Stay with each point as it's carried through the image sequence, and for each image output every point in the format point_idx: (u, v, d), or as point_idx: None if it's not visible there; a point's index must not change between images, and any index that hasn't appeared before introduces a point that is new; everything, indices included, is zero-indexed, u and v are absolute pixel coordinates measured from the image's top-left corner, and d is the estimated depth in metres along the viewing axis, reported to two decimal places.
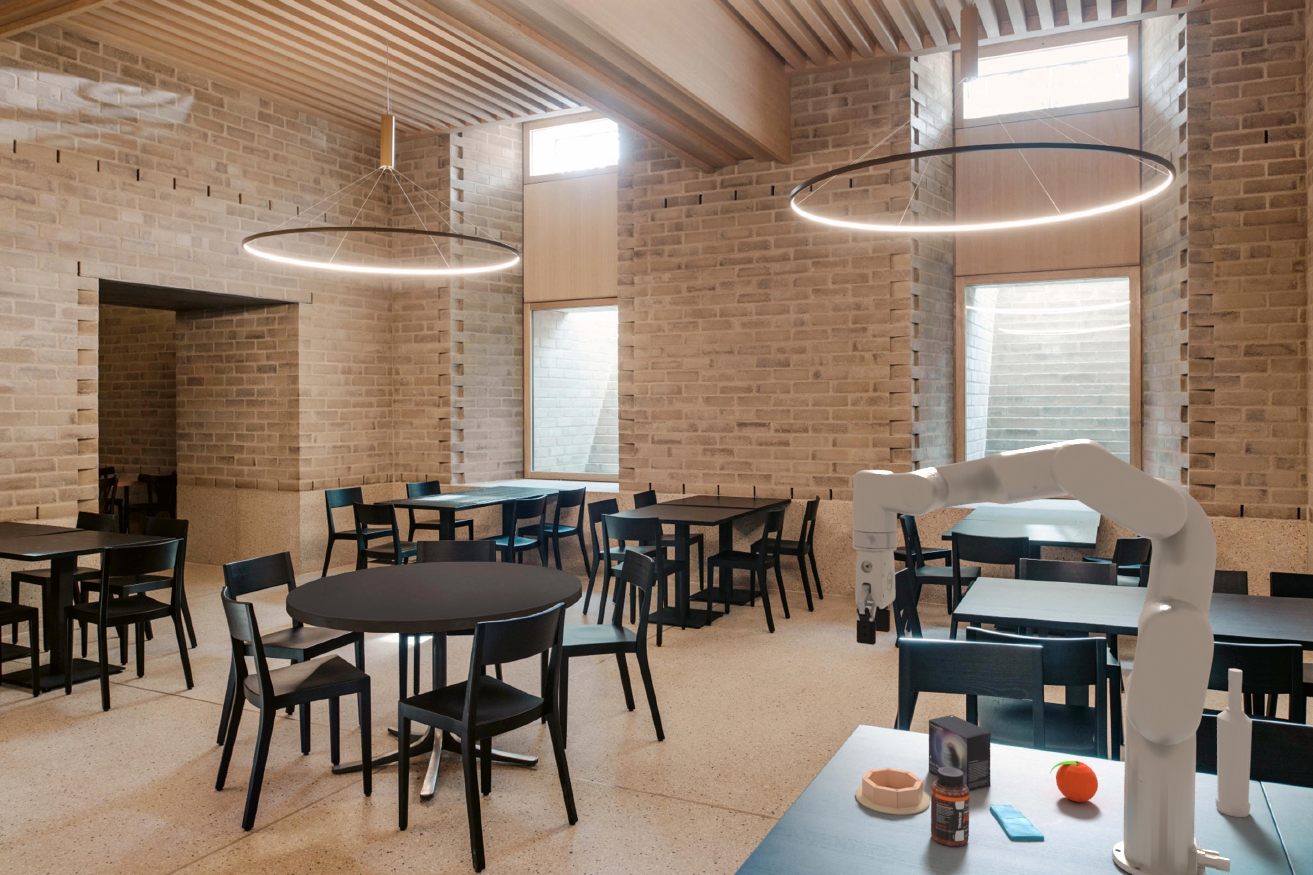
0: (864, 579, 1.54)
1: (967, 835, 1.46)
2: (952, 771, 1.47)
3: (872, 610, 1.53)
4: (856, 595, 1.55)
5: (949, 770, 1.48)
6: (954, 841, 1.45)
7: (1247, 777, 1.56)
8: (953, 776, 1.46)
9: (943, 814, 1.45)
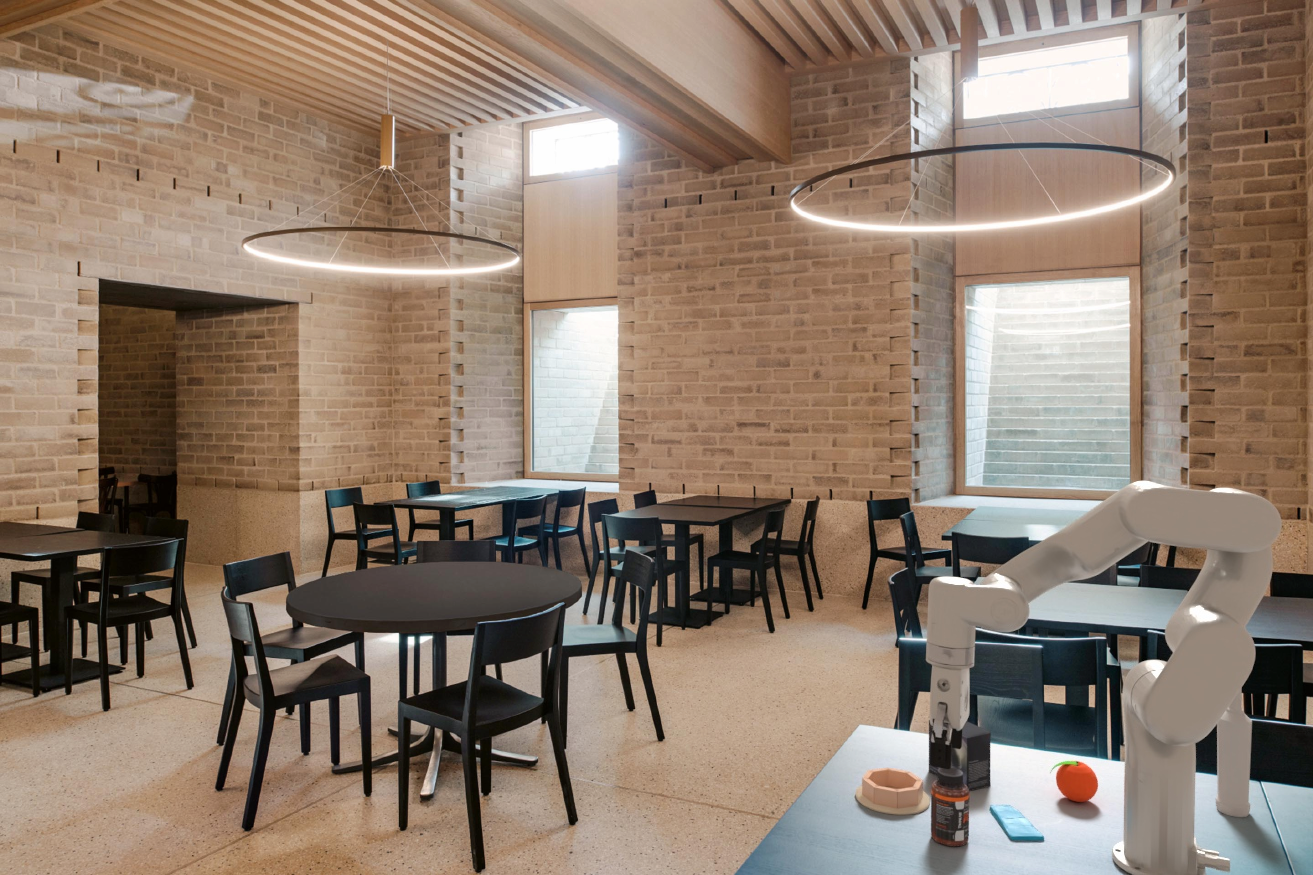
0: (940, 698, 1.43)
1: (967, 835, 1.46)
2: (952, 771, 1.47)
3: (948, 732, 1.42)
4: (931, 714, 1.44)
5: (949, 770, 1.48)
6: (954, 841, 1.45)
7: (1247, 777, 1.56)
8: (953, 776, 1.46)
9: (943, 814, 1.45)
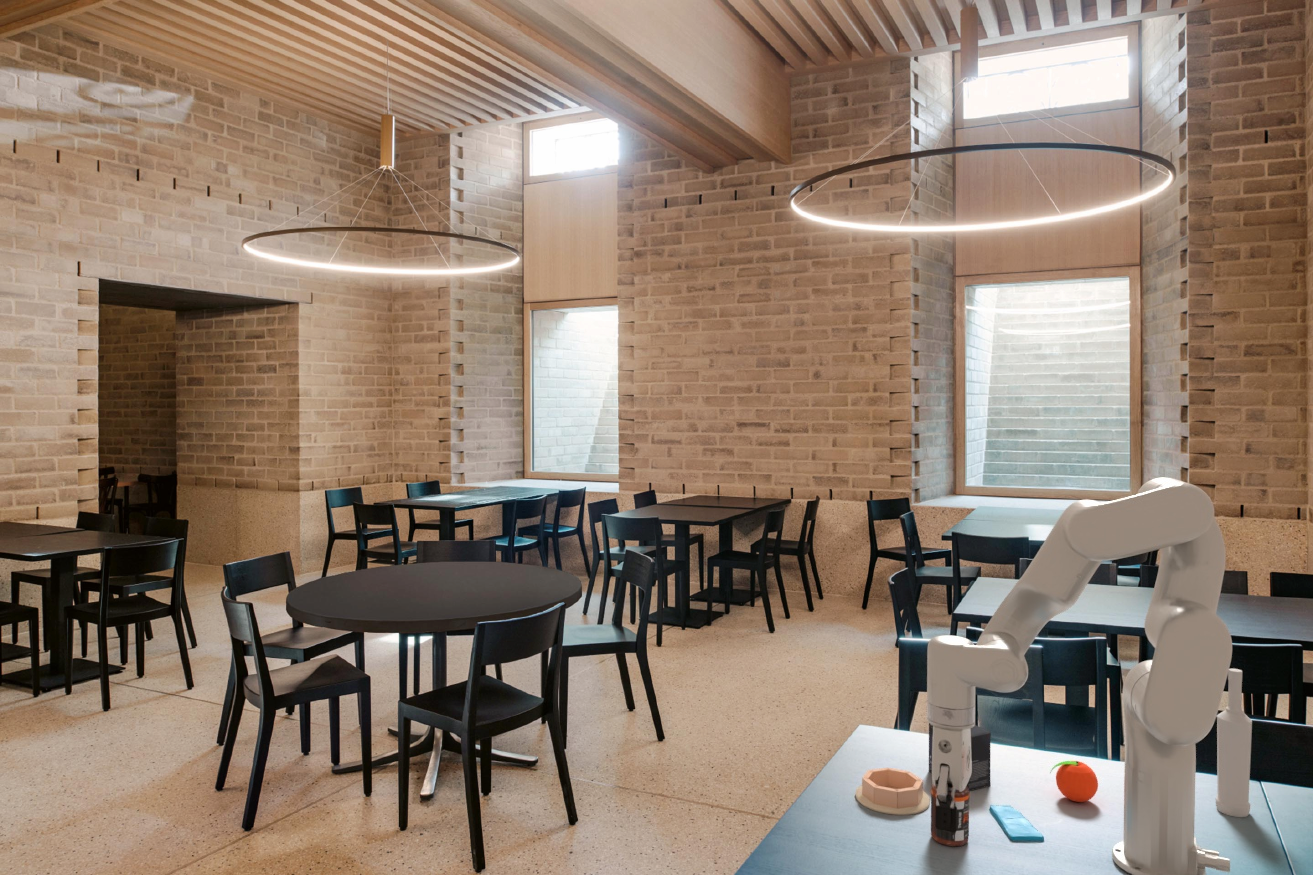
0: (942, 763, 1.43)
1: (967, 835, 1.46)
2: None
3: (952, 797, 1.43)
4: (933, 775, 1.44)
5: None
6: (954, 841, 1.45)
7: (1247, 777, 1.56)
8: None
9: None
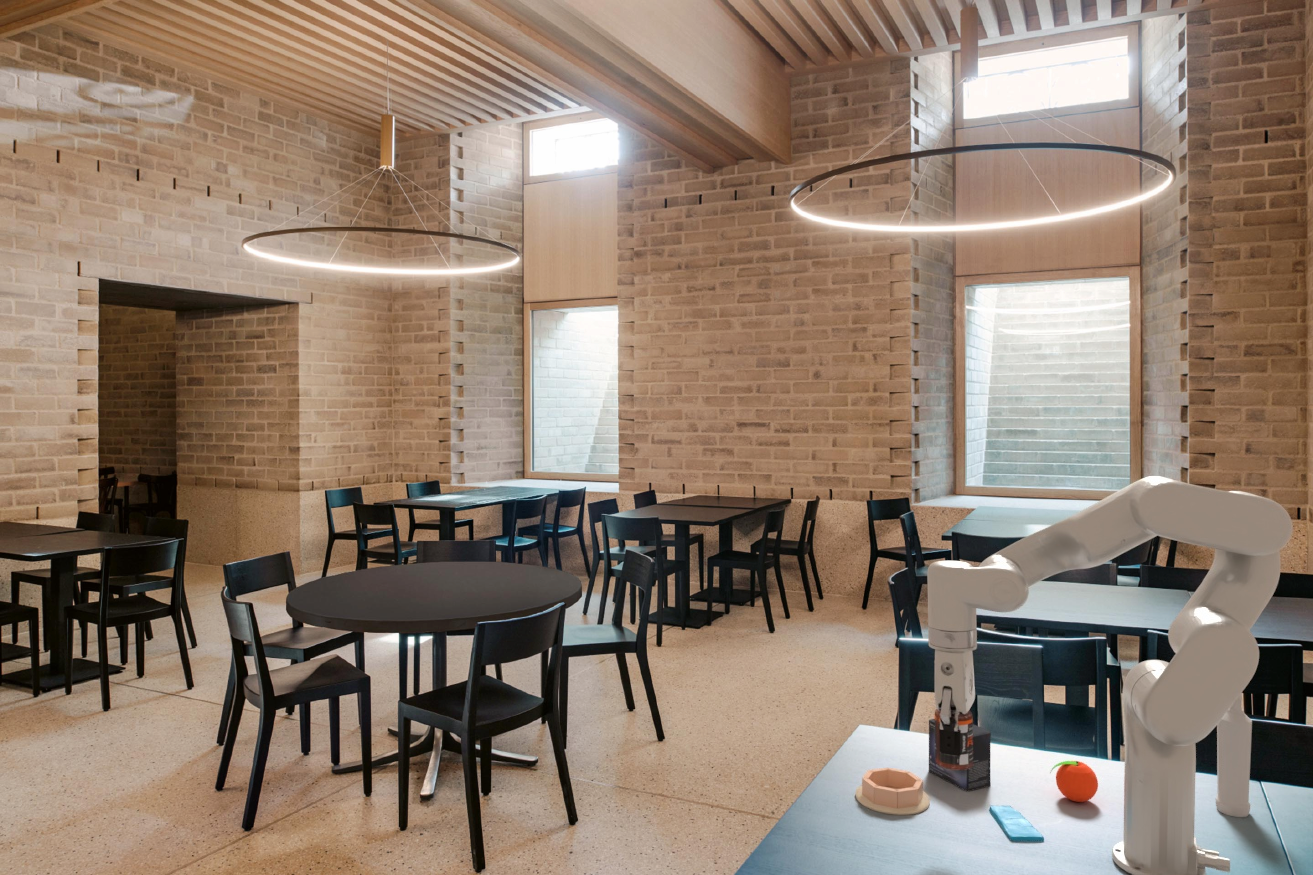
0: (944, 686, 1.43)
1: (971, 759, 1.45)
2: None
3: (956, 719, 1.43)
4: (936, 699, 1.44)
5: None
6: (959, 765, 1.44)
7: (1247, 777, 1.56)
8: None
9: None
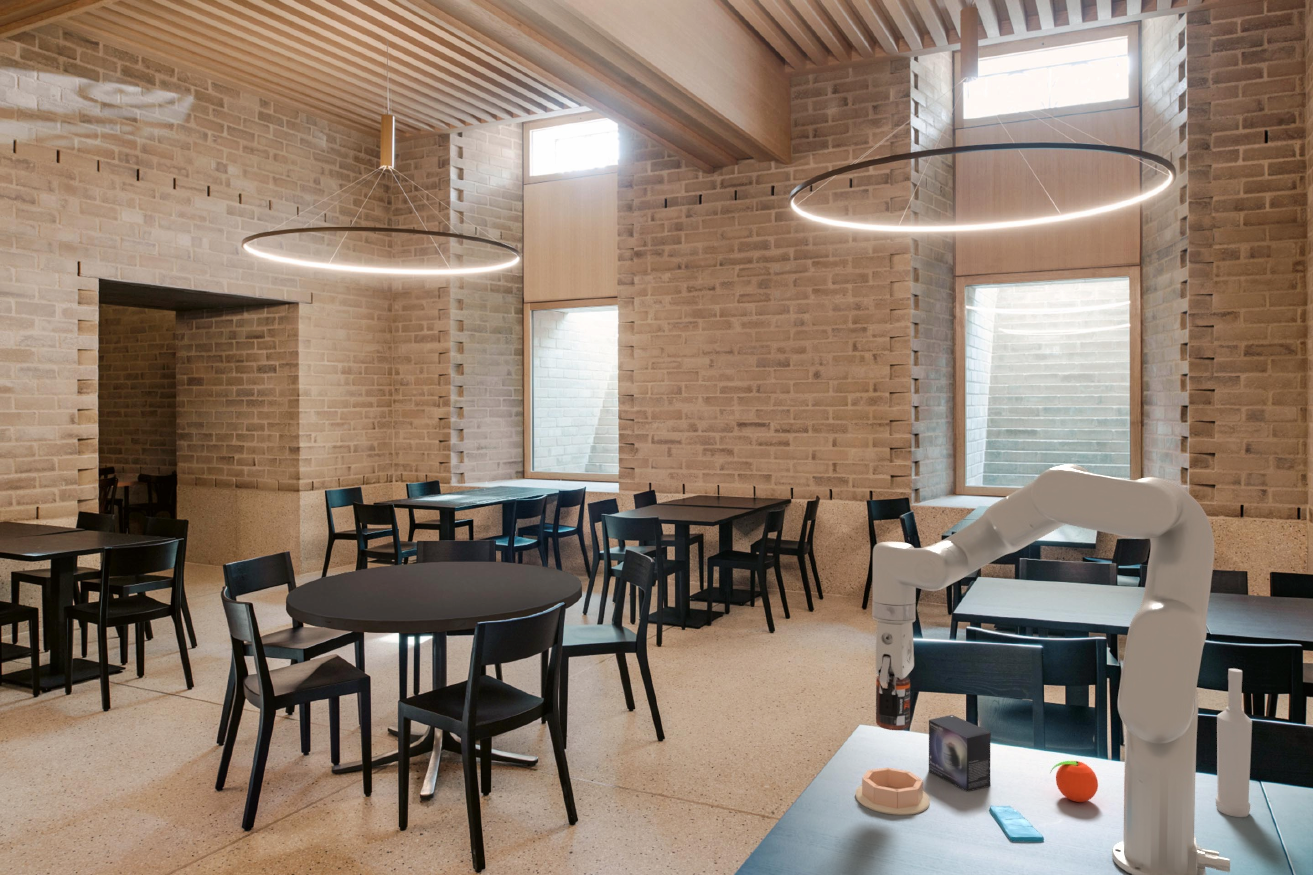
0: (884, 654, 1.58)
1: (908, 721, 1.61)
2: None
3: (894, 684, 1.58)
4: (876, 666, 1.59)
5: None
6: (896, 725, 1.60)
7: (1247, 777, 1.56)
8: None
9: None
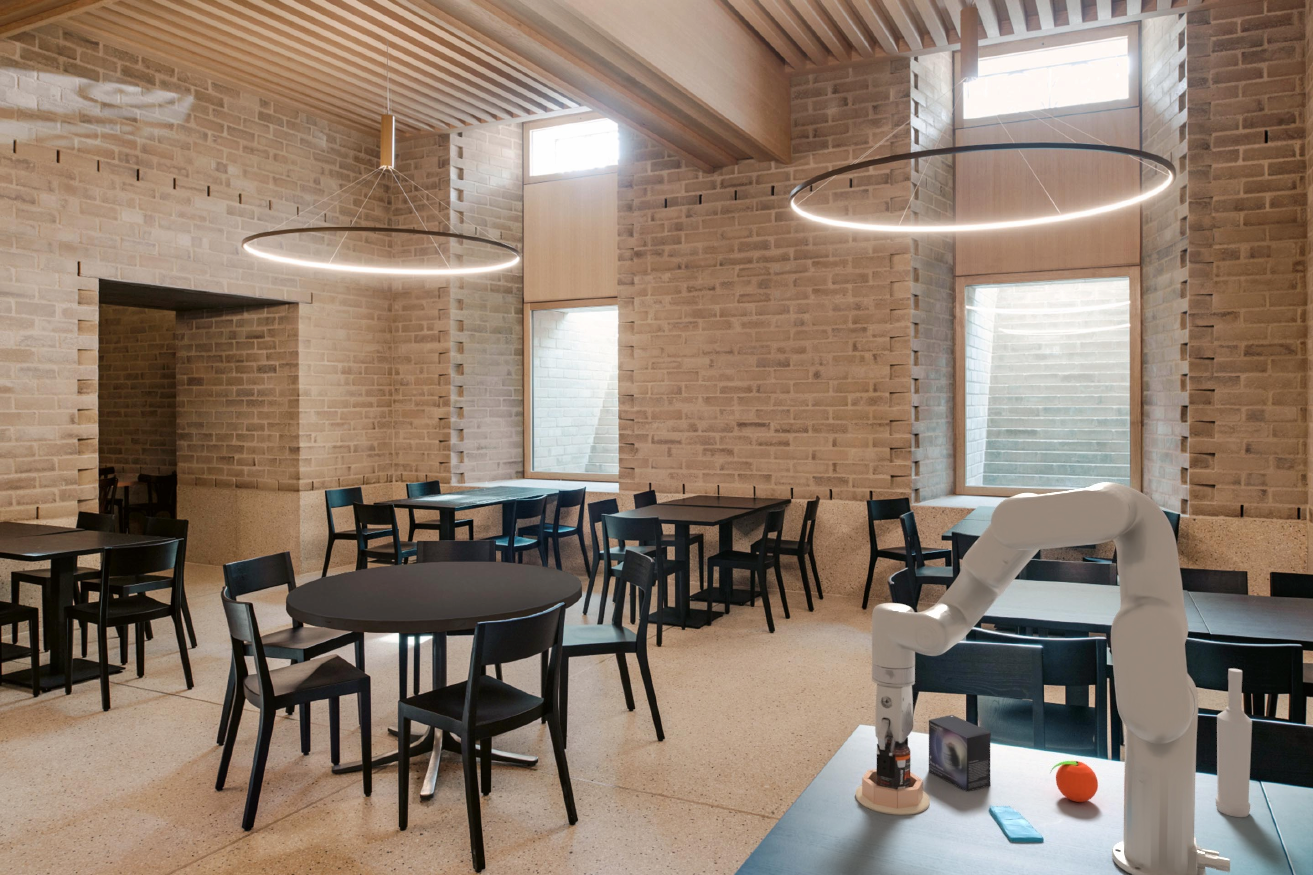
0: (884, 714, 1.58)
1: None
2: None
3: (892, 745, 1.58)
4: (876, 729, 1.59)
5: None
6: None
7: (1247, 777, 1.56)
8: None
9: None
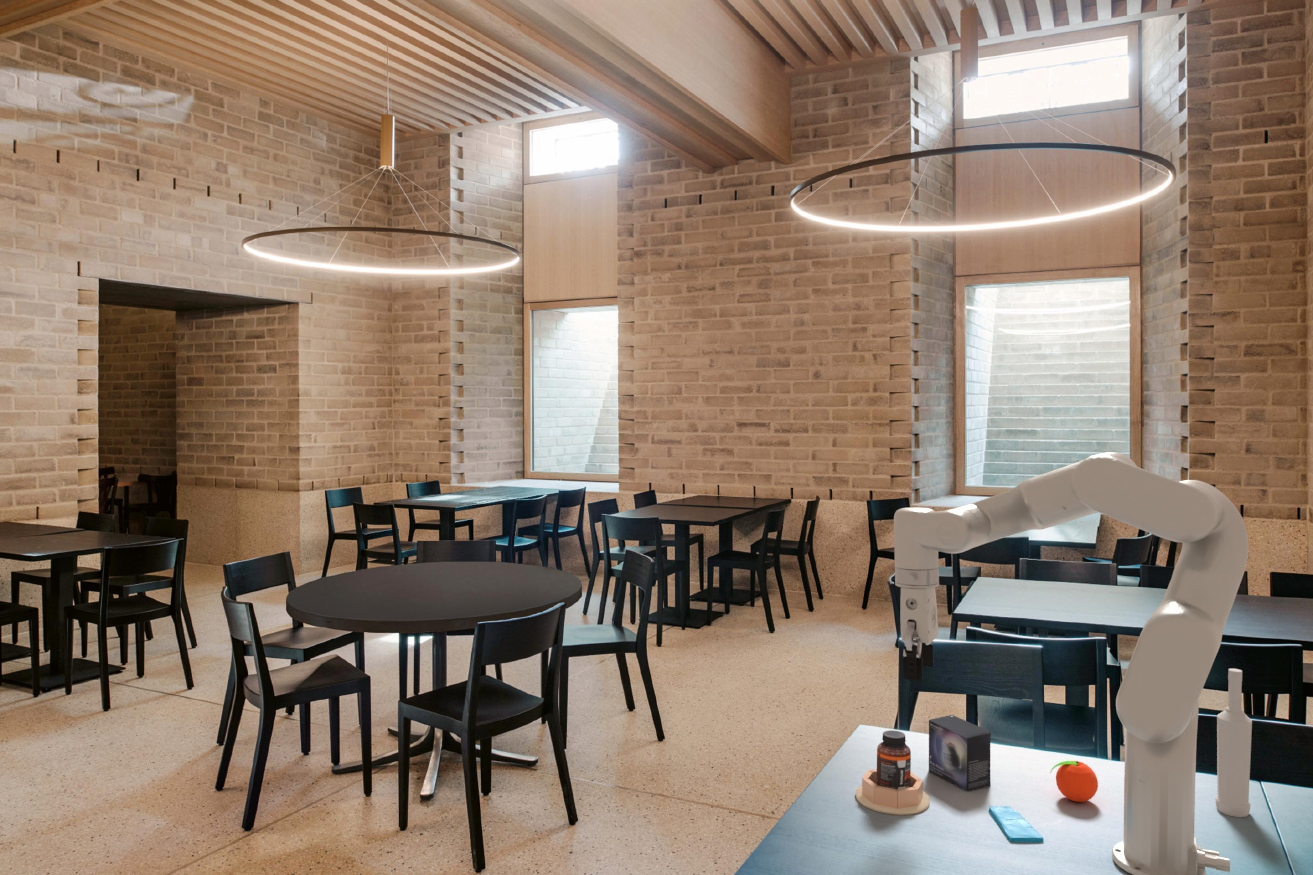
0: (909, 616, 1.57)
1: None
2: (895, 733, 1.63)
3: (918, 646, 1.56)
4: (902, 632, 1.57)
5: (893, 733, 1.63)
6: None
7: (1247, 777, 1.56)
8: (896, 737, 1.61)
9: (887, 772, 1.61)
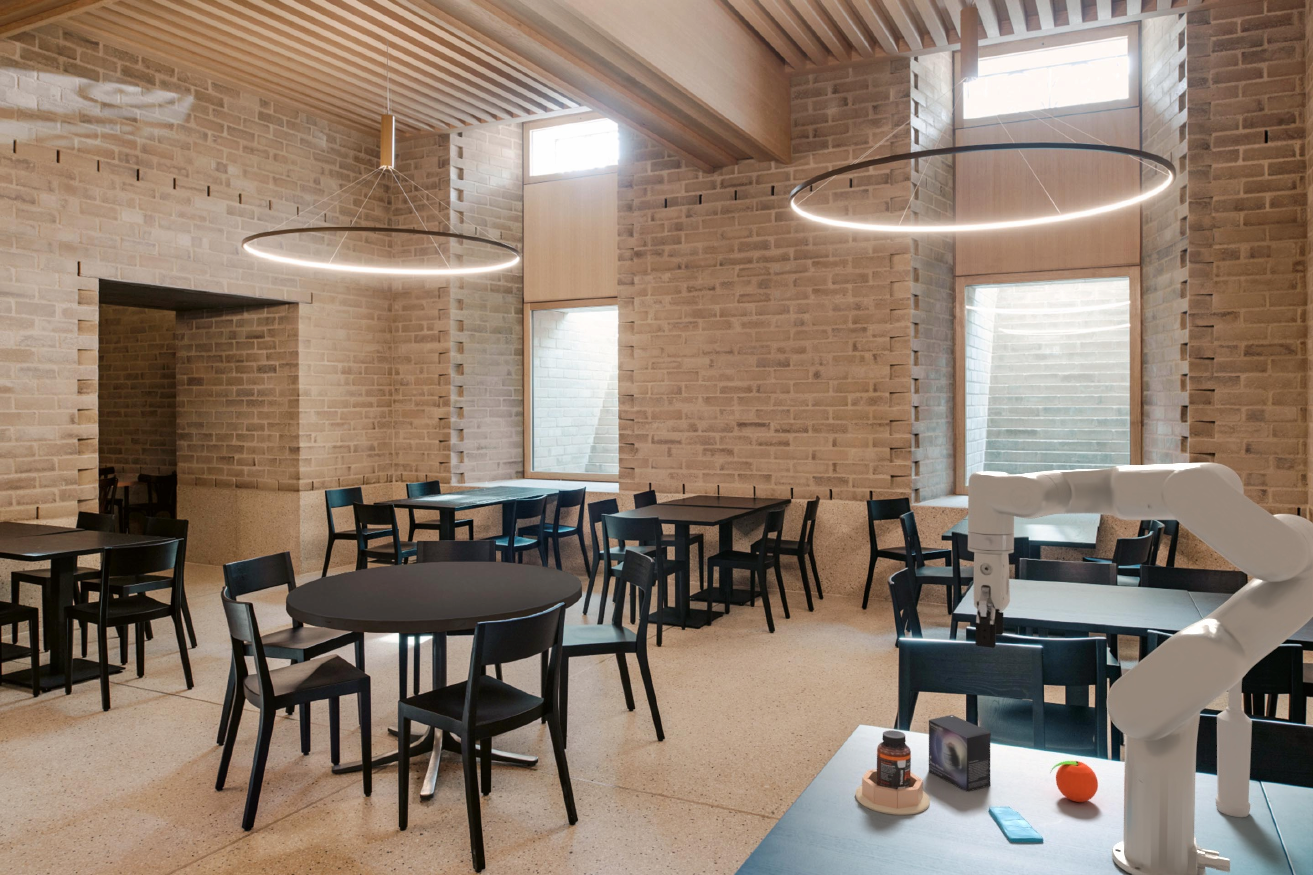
0: (983, 581, 1.53)
1: None
2: (895, 733, 1.63)
3: (992, 613, 1.52)
4: (975, 598, 1.54)
5: (893, 733, 1.63)
6: None
7: (1247, 777, 1.56)
8: (896, 737, 1.61)
9: (887, 772, 1.61)
